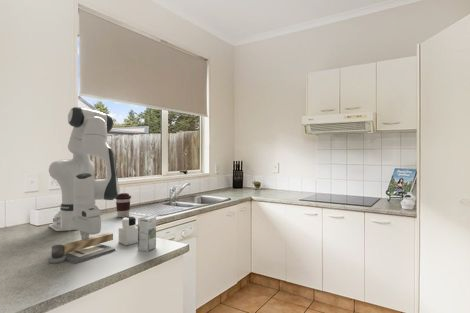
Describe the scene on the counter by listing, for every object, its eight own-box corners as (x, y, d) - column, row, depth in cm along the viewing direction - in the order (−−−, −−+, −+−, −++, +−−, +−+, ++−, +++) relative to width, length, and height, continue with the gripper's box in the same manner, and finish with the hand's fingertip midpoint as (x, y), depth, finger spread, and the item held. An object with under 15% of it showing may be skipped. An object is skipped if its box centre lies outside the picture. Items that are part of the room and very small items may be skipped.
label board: (40, 259, 119) (40, 255, 119) (94, 244, 138) (94, 241, 138) (61, 268, 110) (61, 264, 110) (115, 250, 130) (115, 247, 130)
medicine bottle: (131, 239, 147) (131, 215, 146) (139, 241, 142) (139, 217, 142) (118, 242, 141) (118, 217, 141) (126, 245, 137) (126, 219, 136)
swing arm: (54, 258, 115) (54, 248, 115) (49, 256, 117) (49, 246, 117) (113, 241, 137) (113, 232, 137) (108, 239, 139) (108, 231, 139)
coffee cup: (126, 218, 191) (126, 195, 191) (112, 217, 193) (112, 194, 193) (133, 214, 201) (133, 193, 201) (120, 214, 203) (120, 192, 202)
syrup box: (145, 246, 136) (145, 215, 135) (156, 247, 133) (156, 216, 133) (137, 250, 130) (137, 217, 130) (148, 252, 128) (148, 218, 128)
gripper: (66, 208, 135) (66, 238, 135) (89, 214, 123) (89, 247, 123) (80, 206, 140) (80, 235, 140) (103, 211, 128) (103, 243, 128)
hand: (85, 240), depth 131 cm, fingers closed
